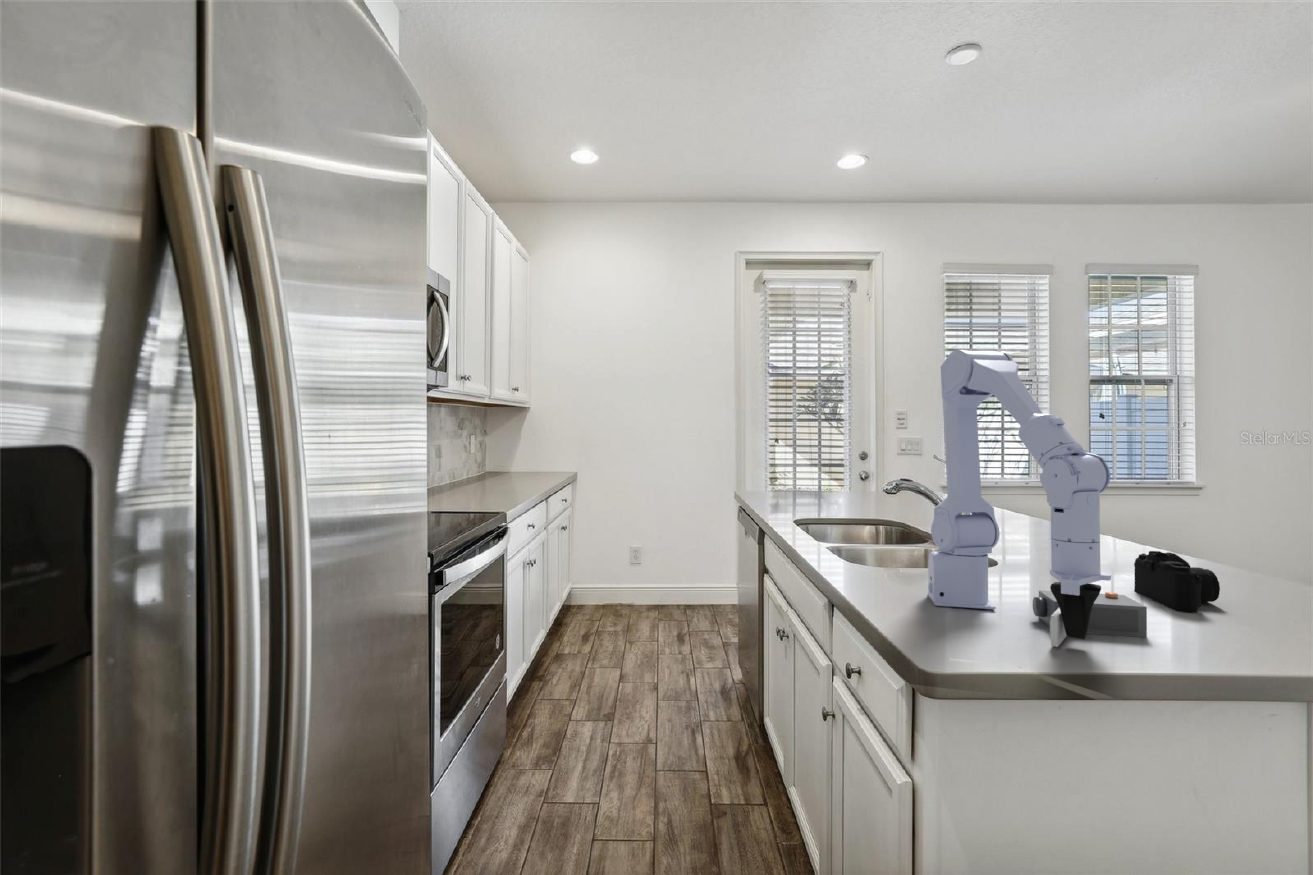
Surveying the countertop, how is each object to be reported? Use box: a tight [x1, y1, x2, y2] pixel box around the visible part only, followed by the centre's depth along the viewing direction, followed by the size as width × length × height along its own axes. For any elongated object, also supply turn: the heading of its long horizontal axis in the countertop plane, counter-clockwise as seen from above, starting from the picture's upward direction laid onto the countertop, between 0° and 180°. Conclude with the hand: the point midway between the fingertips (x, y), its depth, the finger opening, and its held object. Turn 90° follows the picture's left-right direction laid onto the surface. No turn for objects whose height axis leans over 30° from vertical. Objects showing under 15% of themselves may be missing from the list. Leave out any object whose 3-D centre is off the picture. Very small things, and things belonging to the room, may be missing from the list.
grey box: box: [1032, 590, 1148, 638], centre depth 95 cm, size 13×7×5 cm, turn 75°
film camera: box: [1133, 550, 1221, 614], centre depth 110 cm, size 15×10×9 cm, turn 168°
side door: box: [1049, 608, 1067, 648], centre depth 89 cm, size 10×1×4 cm, turn 137°
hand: (1076, 636), depth 86 cm, fingers closed, pressing on side door
